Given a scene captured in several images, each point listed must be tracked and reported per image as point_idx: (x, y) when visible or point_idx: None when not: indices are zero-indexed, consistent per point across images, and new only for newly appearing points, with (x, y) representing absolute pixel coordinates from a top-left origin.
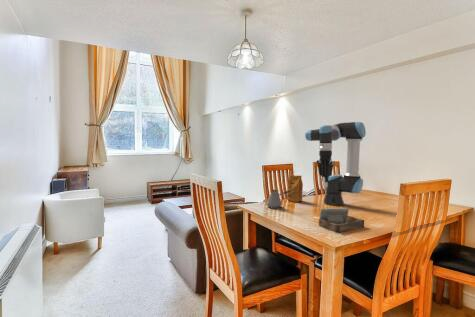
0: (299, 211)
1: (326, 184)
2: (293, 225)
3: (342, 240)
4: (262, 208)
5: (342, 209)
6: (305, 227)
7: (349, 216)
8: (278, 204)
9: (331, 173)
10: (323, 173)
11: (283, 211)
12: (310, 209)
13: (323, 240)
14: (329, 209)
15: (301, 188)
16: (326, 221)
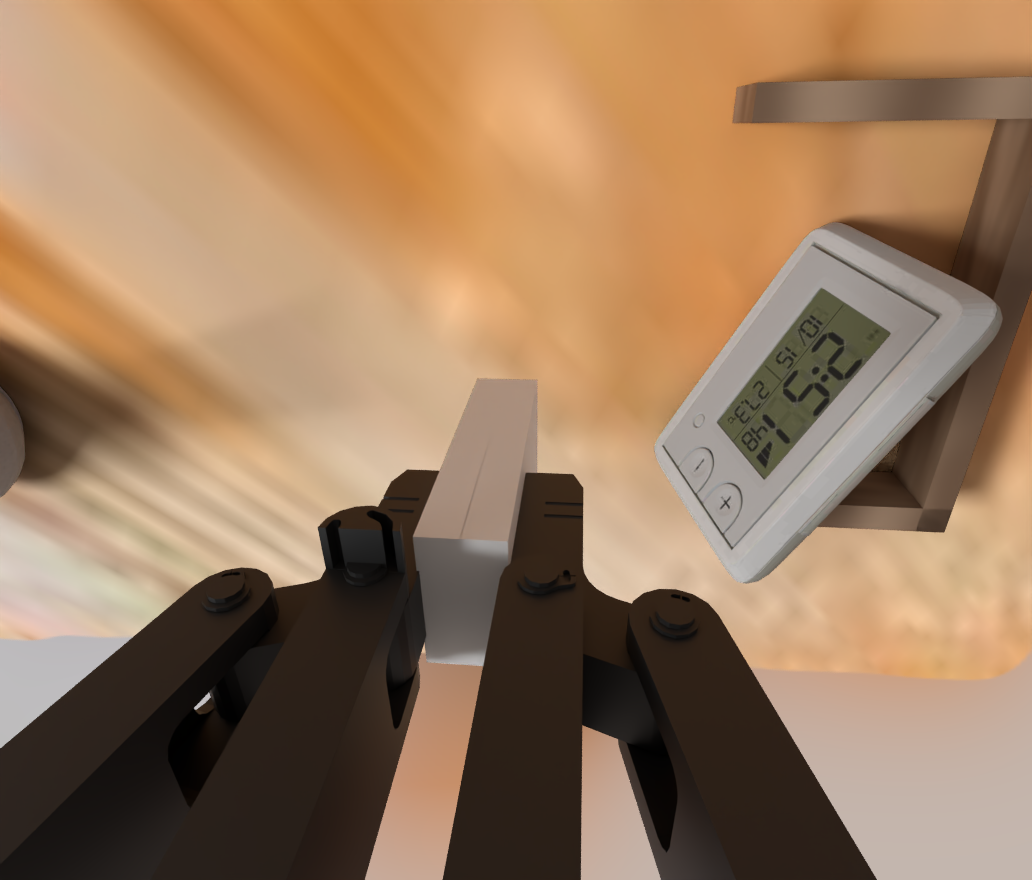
0: (191, 289)
1: (533, 445)
2: None
3: (1022, 583)
4: (14, 532)
5: (940, 391)
6: (647, 590)
7: (862, 113)
8: (4, 438)
9: (769, 708)
10: (393, 757)
11: (155, 438)
12: (128, 77)
13: (914, 672)
14: (815, 526)
15: None
16: None
